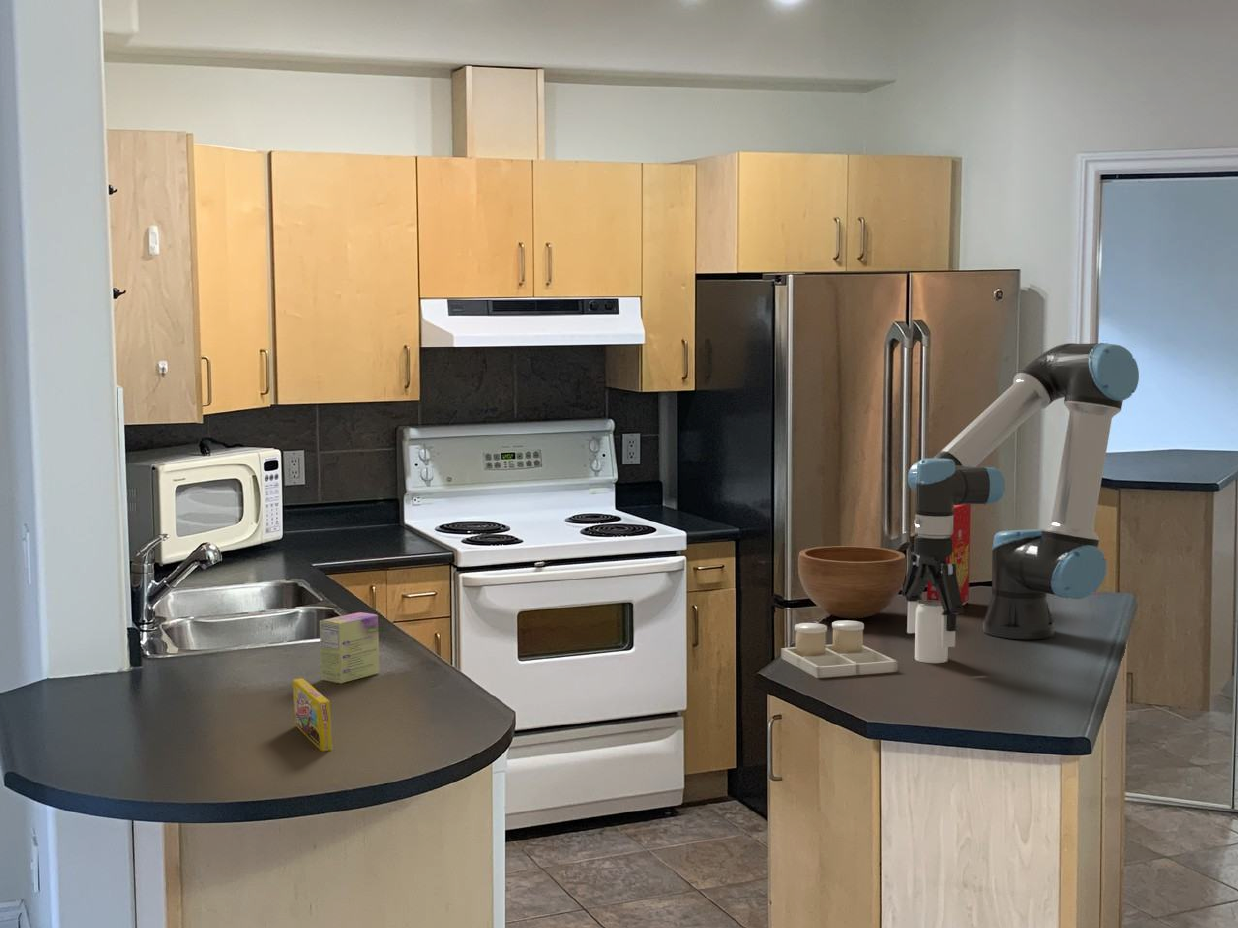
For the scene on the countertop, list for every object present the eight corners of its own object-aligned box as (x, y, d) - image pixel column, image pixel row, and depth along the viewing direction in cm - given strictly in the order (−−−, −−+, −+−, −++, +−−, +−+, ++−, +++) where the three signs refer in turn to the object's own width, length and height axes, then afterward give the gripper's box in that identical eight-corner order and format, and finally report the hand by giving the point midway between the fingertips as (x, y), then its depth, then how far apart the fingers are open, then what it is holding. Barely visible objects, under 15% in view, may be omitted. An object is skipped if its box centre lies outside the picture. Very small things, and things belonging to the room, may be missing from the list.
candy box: (293, 726, 230) (292, 678, 229) (305, 725, 231) (304, 677, 230) (319, 752, 216) (318, 701, 215) (333, 750, 217) (332, 699, 216)
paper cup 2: (854, 653, 280) (855, 619, 279) (868, 660, 274) (869, 625, 273) (826, 656, 278) (826, 621, 277) (840, 663, 272) (840, 627, 271)
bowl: (915, 628, 306) (916, 562, 304) (804, 628, 306) (804, 562, 305) (894, 607, 330) (895, 545, 329) (791, 606, 331) (792, 545, 329)
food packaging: (947, 613, 322) (950, 509, 320) (926, 611, 325) (928, 507, 323) (968, 603, 335) (970, 503, 332) (947, 601, 338) (949, 501, 335)
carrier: (857, 653, 281) (857, 642, 281) (897, 673, 265) (897, 661, 265) (780, 659, 277) (781, 648, 276) (817, 679, 260) (817, 667, 260)
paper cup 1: (818, 656, 277) (818, 621, 277) (831, 663, 271) (832, 628, 271) (789, 658, 276) (789, 623, 275) (802, 666, 270) (803, 630, 269)
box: (359, 669, 269) (358, 610, 268) (380, 673, 266) (379, 614, 265) (319, 680, 261) (318, 619, 260) (340, 684, 257) (339, 623, 256)
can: (948, 665, 271) (949, 606, 270) (914, 664, 273) (916, 605, 271) (946, 658, 278) (948, 600, 277) (914, 656, 279) (915, 599, 278)
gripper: (887, 527, 284) (884, 627, 285) (949, 545, 260) (945, 653, 262) (919, 526, 286) (916, 626, 288) (983, 543, 262) (980, 651, 264)
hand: (930, 639), depth 275 cm, fingers open, 13 cm apart
